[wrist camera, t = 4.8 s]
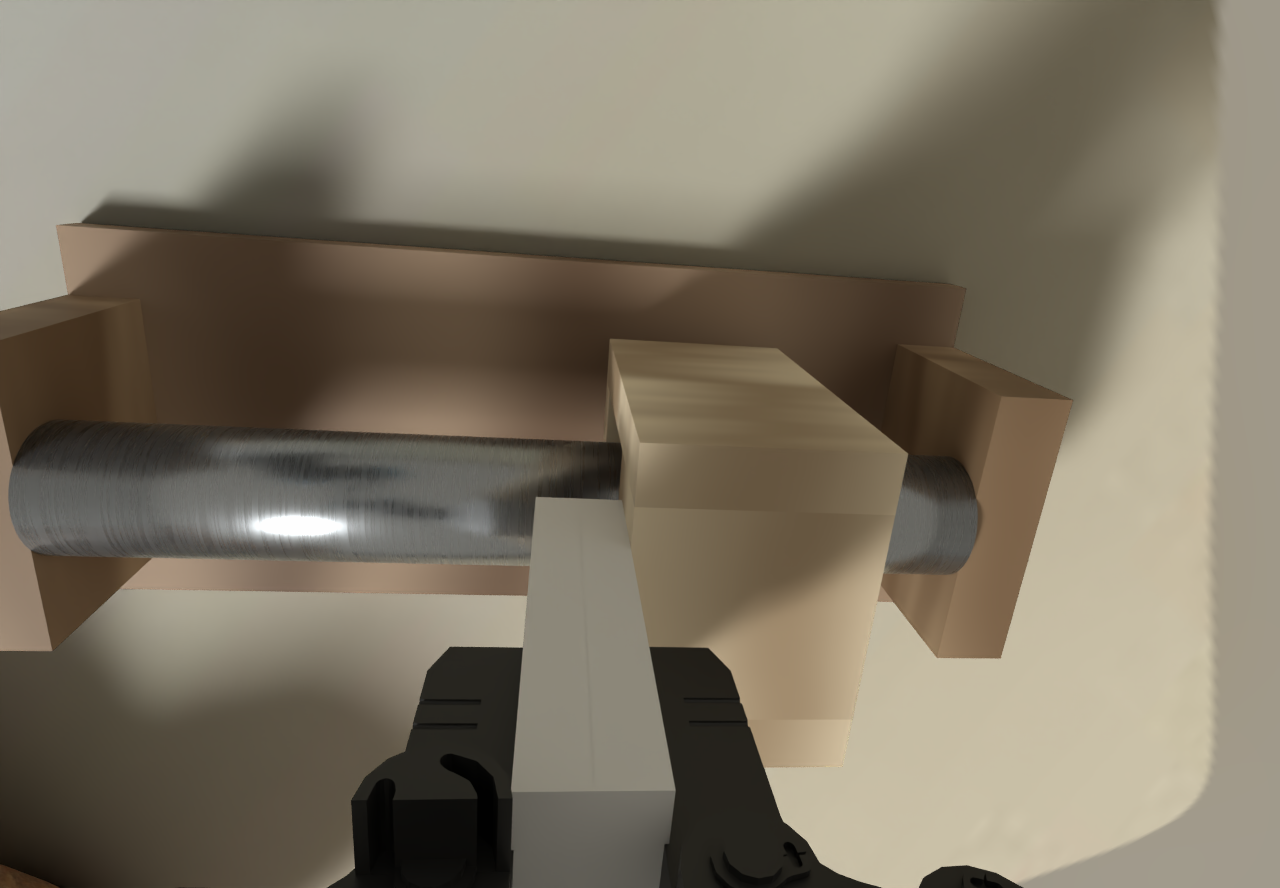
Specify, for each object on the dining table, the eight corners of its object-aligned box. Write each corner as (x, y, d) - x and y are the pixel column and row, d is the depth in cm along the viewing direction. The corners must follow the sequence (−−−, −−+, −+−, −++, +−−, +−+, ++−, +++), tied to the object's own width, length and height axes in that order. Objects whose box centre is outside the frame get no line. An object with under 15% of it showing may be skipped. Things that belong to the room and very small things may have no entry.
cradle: (135, 573, 20) (-17, 715, 15) (78, 222, 17) (-139, 244, 12) (885, 587, 22) (985, 713, 17) (950, 284, 19) (1093, 324, 14)
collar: (595, 560, 19) (613, 769, 12) (609, 338, 17) (640, 443, 11) (746, 564, 20) (842, 766, 13) (777, 348, 18) (908, 453, 11)
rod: (106, 519, 16) (24, 581, 14) (86, 402, 15) (-6, 446, 13) (907, 541, 18) (960, 597, 16) (929, 439, 17) (989, 482, 15)
